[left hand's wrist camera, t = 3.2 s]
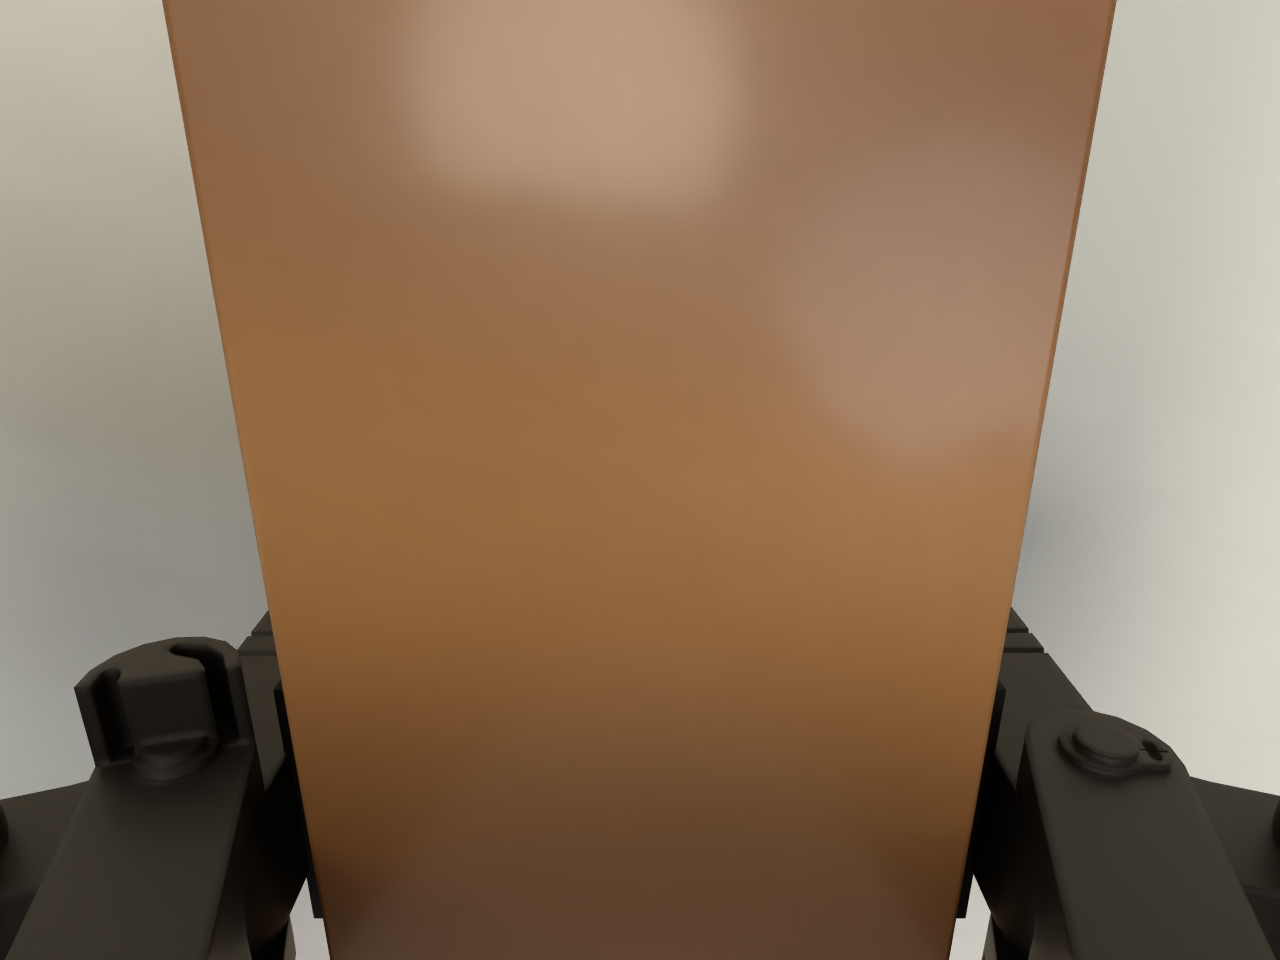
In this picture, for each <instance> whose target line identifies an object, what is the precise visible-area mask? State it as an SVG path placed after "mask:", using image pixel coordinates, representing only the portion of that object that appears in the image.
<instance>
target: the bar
mask: <svg viewBox="0 0 1280 960" xmlns="http://www.w3.org/2000/svg"><path fill="white" fill-rule="evenodd" d="M162 2H163V7H164V13H165V19H166V24H167V30H168V36H169V42H170V47H171V53H172V59H173V64H174V70H175V76H176V82H177V87H178V93H179V99H180V104H181V110H182V116H183V122H184V127H185V133H186V139H187V144H188V150H189V156H190V162H191V167H192V173H193V179H194V184H195V190H196V196H197V201H198V207H199V213H200V219H201V224H202V230H203V236H204V241H205V247H206V253H207V259H208V264H209V270H210V276H211V281H212V287H213V293H214V299H215V304H216V310H217V316H218V321H219V327H220V333H221V339H222V344H223V350H224V356H225V361H226V367H227V373H228V378H229V384H230V390H231V396H232V401H233V407H234V413H235V418H236V424H237V430H238V436H239V441H240V447H241V453H242V458H243V464H244V470H245V476H246V481H247V487H248V493H249V498H250V504H251V510H252V516H253V521H254V527H255V533H256V538H257V544H258V550H259V555H260V561H261V567H262V573H263V578H264V584H265V590H266V595H267V601H268V607H269V613H270V618H271V624H272V630H273V635H274V641H275V647H276V653H277V658H278V664H279V670H280V675H281V681H282V687H283V693H284V698H285V704H286V710H287V715H288V721H289V727H290V732H291V738H292V744H293V750H294V755H295V761H296V767H297V772H298V778H299V784H300V790H301V795H302V801H303V807H304V812H305V818H306V824H307V830H308V835H309V841H310V847H311V852H312V858H313V864H314V870H315V875H316V881H317V887H318V892H319V898H320V904H321V909H322V915H323V921H324V927H325V932H326V938H327V944H328V949H329V955H330V960H949V956H950V951H951V945H952V939H953V933H954V928H955V922H956V916H957V910H958V905H959V899H960V893H961V888H962V882H963V876H964V870H965V865H966V859H967V853H968V848H969V842H970V836H971V830H972V825H973V819H974V813H975V807H976V802H977V796H978V790H979V785H980V779H981V773H982V767H983V762H984V756H985V750H986V744H987V739H988V733H989V727H990V722H991V716H992V710H993V704H994V699H995V693H996V687H997V681H998V676H999V670H1000V664H1001V659H1002V653H1003V647H1004V641H1005V636H1006V630H1007V624H1008V619H1009V613H1010V607H1011V601H1012V596H1013V590H1014V584H1015V578H1016V573H1017V567H1018V561H1019V556H1020V550H1021V544H1022V538H1023V533H1024V527H1025V521H1026V515H1027V510H1028V504H1029V498H1030V493H1031V487H1032V481H1033V475H1034V470H1035V464H1036V458H1037V453H1038V447H1039V441H1040V435H1041V430H1042V424H1043V418H1044V412H1045V407H1046V401H1047V395H1048V390H1049V384H1050V378H1051V372H1052V367H1053V361H1054V355H1055V349H1056V344H1057V338H1058V332H1059V327H1060V321H1061V315H1062V309H1063V304H1064V298H1065V292H1066V287H1067V281H1068V275H1069V269H1070V264H1071V258H1072V252H1073V246H1074V241H1075V235H1076V229H1077V224H1078V218H1079V212H1080V206H1081V201H1082V195H1083V189H1084V183H1085V178H1086V172H1087V166H1088V161H1089V155H1090V149H1091V143H1092V138H1093V132H1094V126H1095V120H1096V115H1097V109H1098V103H1099V98H1100V92H1101V86H1102V80H1103V75H1104V69H1105V63H1106V58H1107V52H1108V46H1109V40H1110V35H1111V29H1112V23H1113V17H1114V12H1115V6H1116V0H162Z"/></svg>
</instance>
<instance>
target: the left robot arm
mask: <svg viewBox="0 0 1280 960" xmlns="http://www.w3.org/2000/svg"><path fill="white" fill-rule="evenodd" d="M74 690H75V694H76V697H77V701H78V704H79V708H80V712H81V715H82V719H83V722H84V726H85V730H86V733H87V737H88V740H89V744H90V748H91V751H92V755H93V759H94V762H95V766H96V767H95V769H94V771H93V773H92V775H91V778H90V780H89V781H85V782H82V783H78V784H74V785H70V786H66V787H61V788H56V789H51V790H46V791H41V792H36V793H32V794H27V795H22V796H17V797H12V798H7V799H2V800H0V960H295V956H296V950H295V943H294V936H293V930H292V925H291V920H290V913H291V910H292V908H293V906H294V904H295V901H296V899H297V897H298V895H299V893H300V890H301V888H302V886H303V884H304V881H305V879H306V877H307V882H308V887H309V893H310V898H311V904H312V909H313V915H314V918H323V915H322V909H321V904H320V898H319V892H318V887H317V881H316V875H315V870H314V864H313V858H312V852H311V847H310V841H309V835H308V830H307V824H306V818H305V812H304V807H303V801H302V795H301V790H300V784H299V778H298V772H297V767H296V761H295V755H294V750H293V744H292V738H291V732H290V727H289V721H288V715H287V710H286V704H285V698H284V693H283V687H282V681H281V675H280V670H279V664H278V658H277V653H276V647H275V641H274V635H273V630H272V624H271V618H270V613H269V610H268V611H267V613H266V614H265V615H264V616H263V618H262V619H261V620H260V622H259V623H258V624H257V625H256V627H255V628H254V629H253V631H252V635H251V636H248V637H247V638H246V640H245V641H244V642H243V643H242V645H241V646H240V647H239V648H238V650H236V649H235V648H233V647H232V646H231V645H230V644H228V643H227V642H226V641H221V640H217V639H212V638H207V637H178V638H171V639H166V640H162V641H157V642H152V643H147V644H143V645H141V646H138V647H136V648H133V649H130V650H128V651H125V652H122V653H120V654H117V655H115V656H113V657H111V658H110V659H108V660H106V661H105V662H103V663H101V664H100V665H98V666H97V667H95V668H93V669H92V670H90V671H89V672H88V673H87V674H86V675H85V676H84V677H83V678H82V680H81V681H80V682H79V683H78V684H77V685H76V686H75V687H74ZM973 874H974V876H975V878H976V880H977V883H978V885H979V887H980V889H981V891H982V894H983V896H984V898H985V900H986V903H987V905H988V907H989V909H990V911H991V915H990V920H989V925H988V930H987V935H986V940H985V946H984V951H983V956H982V960H1280V796H1277V795H1273V794H1268V793H1263V792H1258V791H1253V790H1248V789H1243V788H1238V787H1233V786H1229V785H1224V784H1219V783H1214V782H1209V781H1205V780H1202V779H1198V778H1194V777H1190V776H1189V774H1188V772H1187V770H1186V767H1185V765H1184V764H1183V763H1182V761H1181V760H1180V759H1179V758H1178V756H1177V755H1176V754H1175V752H1174V751H1173V750H1172V749H1171V747H1170V746H1168V745H1167V744H1166V743H1164V742H1163V741H1161V740H1160V739H1159V738H1157V737H1156V736H1154V735H1153V734H1152V733H1150V732H1149V731H1147V730H1146V729H1143V728H1141V727H1139V726H1137V725H1134V724H1132V723H1130V722H1128V721H1125V720H1123V719H1121V718H1118V717H1115V716H1111V715H1106V714H1102V713H1098V712H1094V711H1093V710H1092V709H1091V708H1090V706H1089V705H1088V704H1087V702H1086V701H1085V700H1084V699H1083V697H1082V696H1081V695H1080V694H1079V692H1078V691H1077V690H1076V688H1075V687H1074V686H1073V685H1072V683H1071V682H1070V681H1069V680H1068V678H1067V677H1066V676H1065V674H1064V673H1063V672H1062V671H1061V669H1060V668H1059V667H1058V666H1057V664H1056V663H1055V662H1054V661H1053V659H1052V658H1051V657H1050V655H1049V654H1048V653H1044V648H1043V647H1042V645H1041V644H1040V643H1039V641H1038V640H1037V639H1036V638H1035V636H1034V635H1033V634H1032V633H1029V632H1028V627H1027V626H1026V625H1025V624H1024V622H1023V621H1022V620H1021V619H1020V617H1019V616H1018V615H1017V614H1016V612H1015V611H1014V610H1013V608H1012V607H1010V613H1009V619H1008V624H1007V630H1006V636H1005V641H1004V647H1003V653H1002V659H1001V664H1000V670H999V676H998V681H997V687H996V693H995V699H994V704H993V710H992V716H991V722H990V727H989V733H988V739H987V744H986V750H985V756H984V762H983V767H982V773H981V779H980V785H979V790H978V796H977V802H976V807H975V813H974V819H973V825H972V830H971V836H970V842H969V848H968V853H967V859H966V865H965V870H964V876H963V882H962V888H961V893H960V899H959V905H958V910H957V916H956V918H965V917H966V912H967V906H968V901H969V895H970V890H971V884H972V878H973Z"/></svg>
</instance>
